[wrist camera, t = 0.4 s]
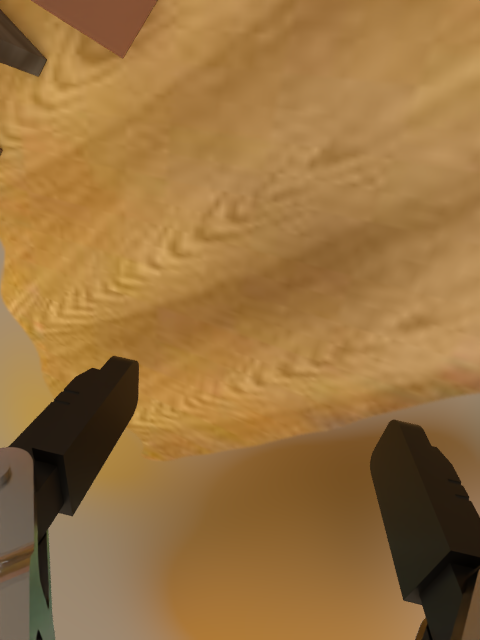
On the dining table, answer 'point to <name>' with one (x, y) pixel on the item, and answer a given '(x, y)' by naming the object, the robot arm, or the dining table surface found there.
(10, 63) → the book slot
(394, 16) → the dining table surface
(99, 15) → the reddish pink rectangular block
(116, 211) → the dining table surface
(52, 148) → the dining table surface
